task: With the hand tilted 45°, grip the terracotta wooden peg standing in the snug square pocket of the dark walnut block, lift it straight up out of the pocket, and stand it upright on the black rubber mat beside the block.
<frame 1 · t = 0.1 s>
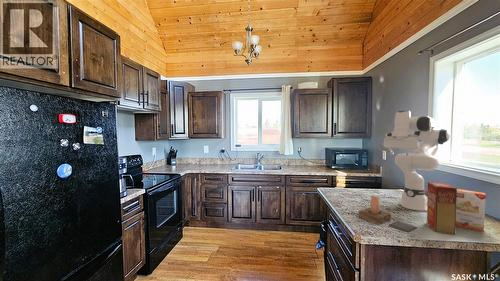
hand: (399, 155, 146), 39 cm above the countertop, tool pointing down, fingers open, 8 cm apart
rubber mat: (402, 226, 126), on the countertop
pocket block: (374, 218, 138), on the countertop
peg: (374, 207, 138), in the pocket block
cracker box: (466, 227, 127), on the countertop
food packaging: (440, 228, 125), on the countertop
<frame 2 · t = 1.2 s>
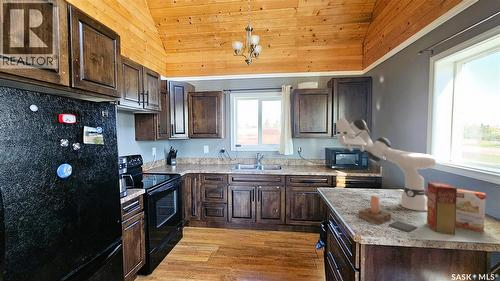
hand: (357, 150, 154), 41 cm above the countertop, tool tilted 40°, fingers open, 8 cm apart
nothing on the countertop moved.
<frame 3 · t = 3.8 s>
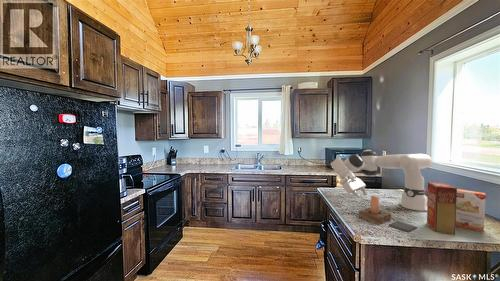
hand: (362, 195, 143), 13 cm above the countertop, tool tilted 45°, fingers open, 8 cm apart
nothing on the countertop moved.
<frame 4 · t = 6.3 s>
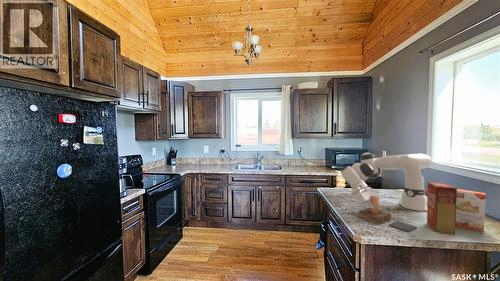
hand: (375, 206, 137), 8 cm above the countertop, tool tilted 45°, fingers closed on peg, 4 cm apart
peg: (374, 207, 138), in the pocket block, touching gripper
everything else where it was.
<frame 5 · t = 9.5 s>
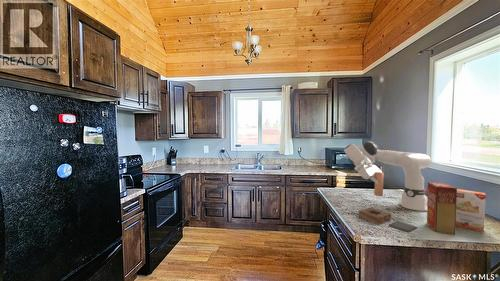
hand: (380, 182, 135), 23 cm above the countertop, tool tilted 45°, fingers closed on peg, 4 cm apart
peg: (378, 183, 135), point 22 cm above the countertop, touching gripper
everything else where it was.
when the fingers open (10 cm above the countertop, at t = 13.2 s): peg drops 1 cm, resting on rubber mat.
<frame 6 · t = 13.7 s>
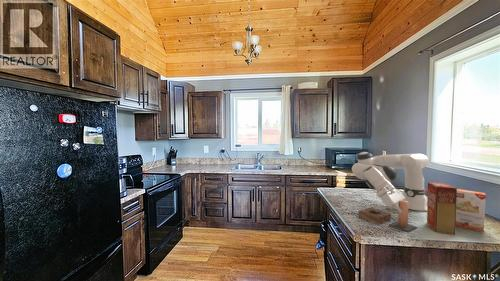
hand: (404, 210, 125), 10 cm above the countertop, tool tilted 45°, fingers open, 8 cm apart
peg: (403, 213, 126), on the rubber mat, point 8 cm above the countertop
everything else where it was.
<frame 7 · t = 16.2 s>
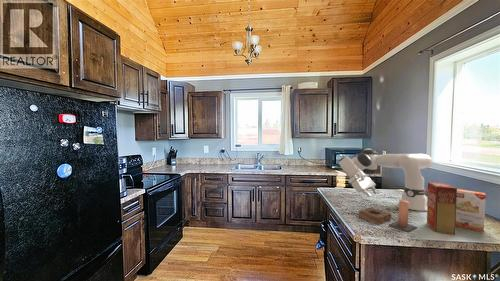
hand: (373, 195, 139), 15 cm above the countertop, tool tilted 45°, fingers open, 8 cm apart
nothing on the countertop moved.
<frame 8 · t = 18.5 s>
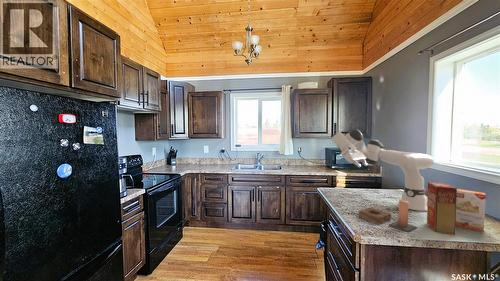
hand: (363, 166, 148), 31 cm above the countertop, tool tilted 45°, fingers open, 8 cm apart
nothing on the countertop moved.
at the end: peg inside the target area on the rubber mat (0.1 cm from its centre), point 7.8 cm above the rubber mat's base; peg tilted 1°; the gripper is holding nothing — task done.
